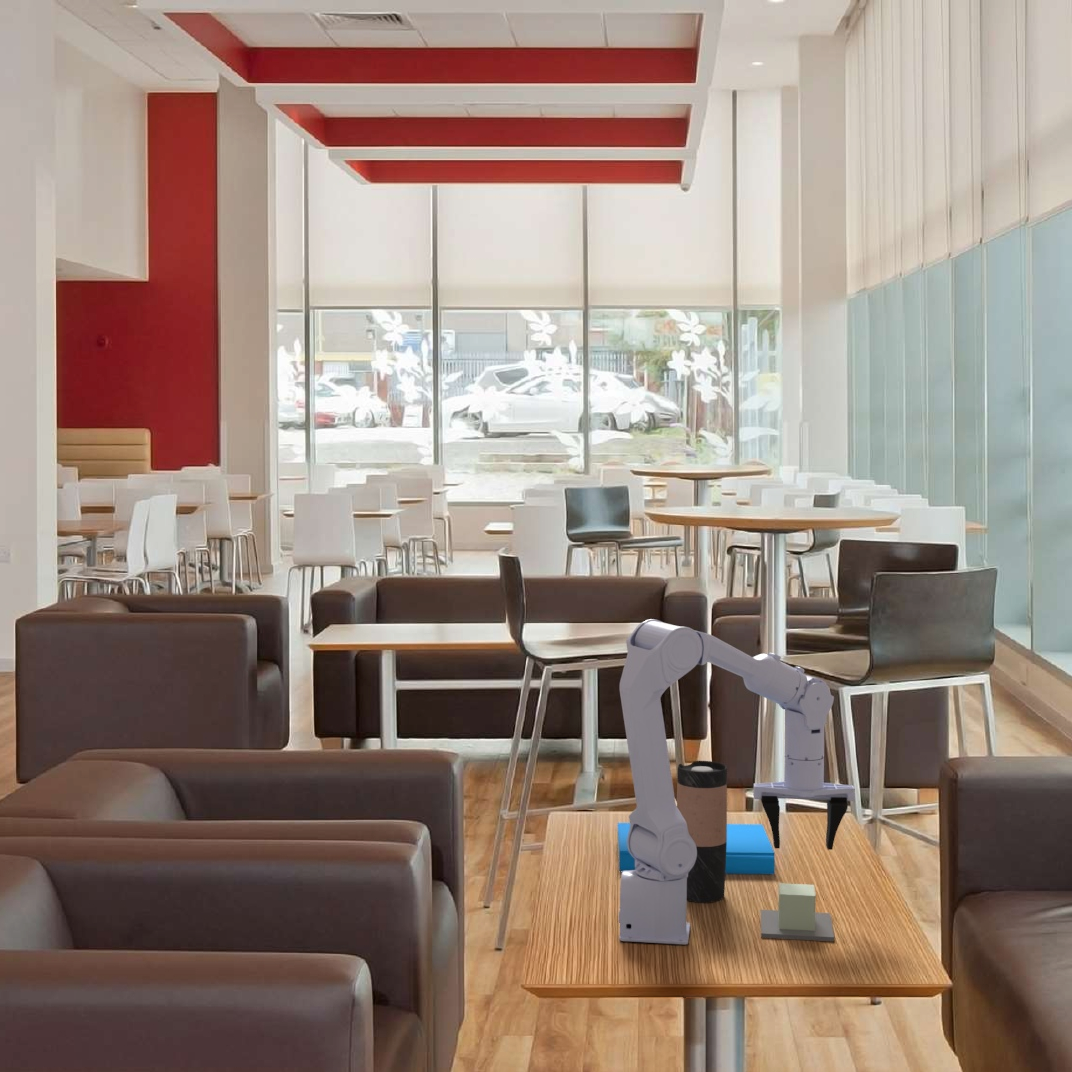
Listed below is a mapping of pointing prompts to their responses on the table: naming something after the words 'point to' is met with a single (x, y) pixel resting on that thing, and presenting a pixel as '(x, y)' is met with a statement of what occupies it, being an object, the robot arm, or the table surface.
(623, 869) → the book
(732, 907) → the table surface
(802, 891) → the cube
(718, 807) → the travel mug
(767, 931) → the coaster
